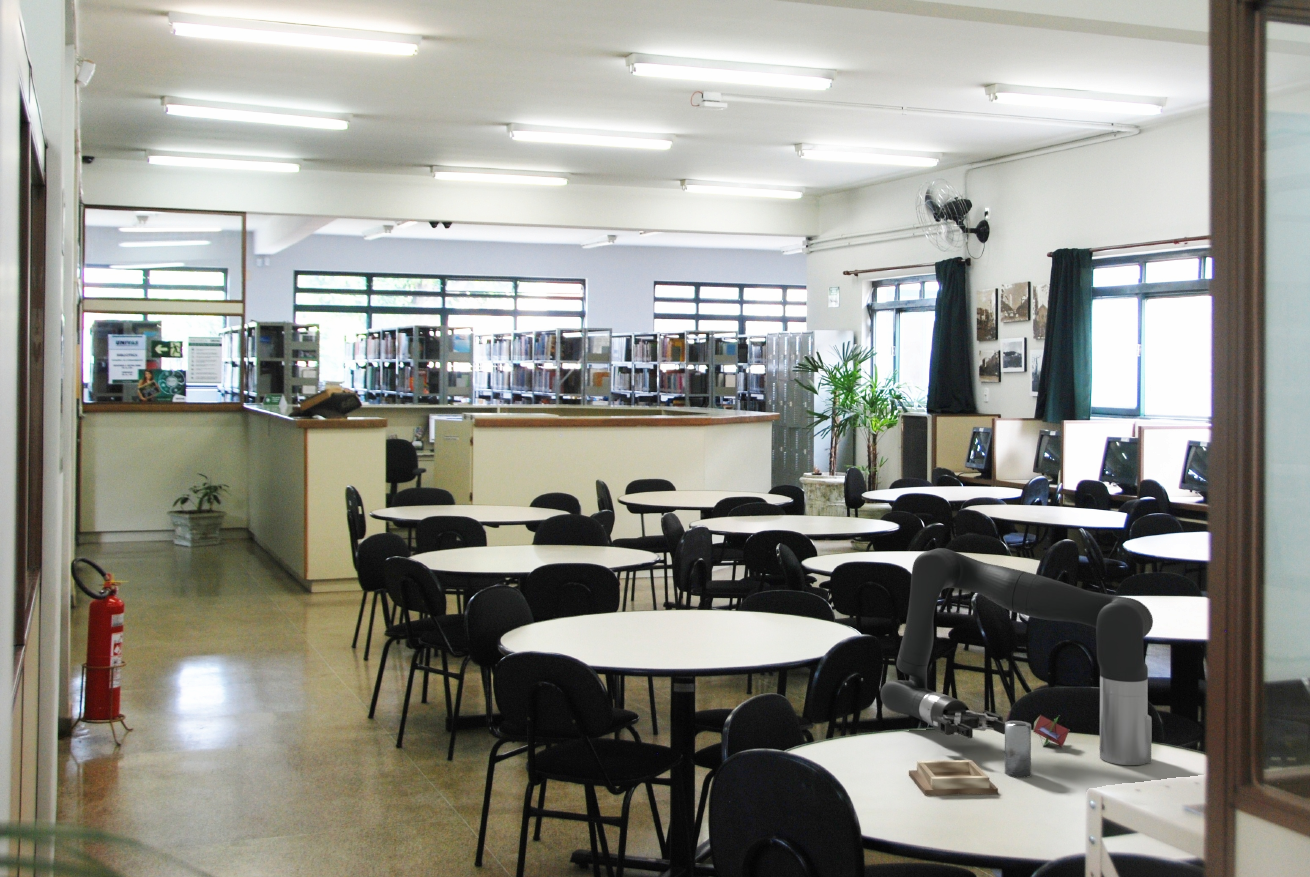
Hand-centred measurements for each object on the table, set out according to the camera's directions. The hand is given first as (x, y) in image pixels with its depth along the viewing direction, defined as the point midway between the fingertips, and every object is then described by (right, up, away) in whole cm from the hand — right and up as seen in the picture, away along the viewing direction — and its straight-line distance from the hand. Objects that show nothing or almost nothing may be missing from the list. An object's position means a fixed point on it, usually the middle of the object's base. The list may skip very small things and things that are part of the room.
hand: (988, 731), depth 245 cm
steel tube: (+3, -6, -9) cm, 11 cm away
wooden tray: (-11, -6, -15) cm, 20 cm away
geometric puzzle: (+17, -6, +11) cm, 21 cm away
